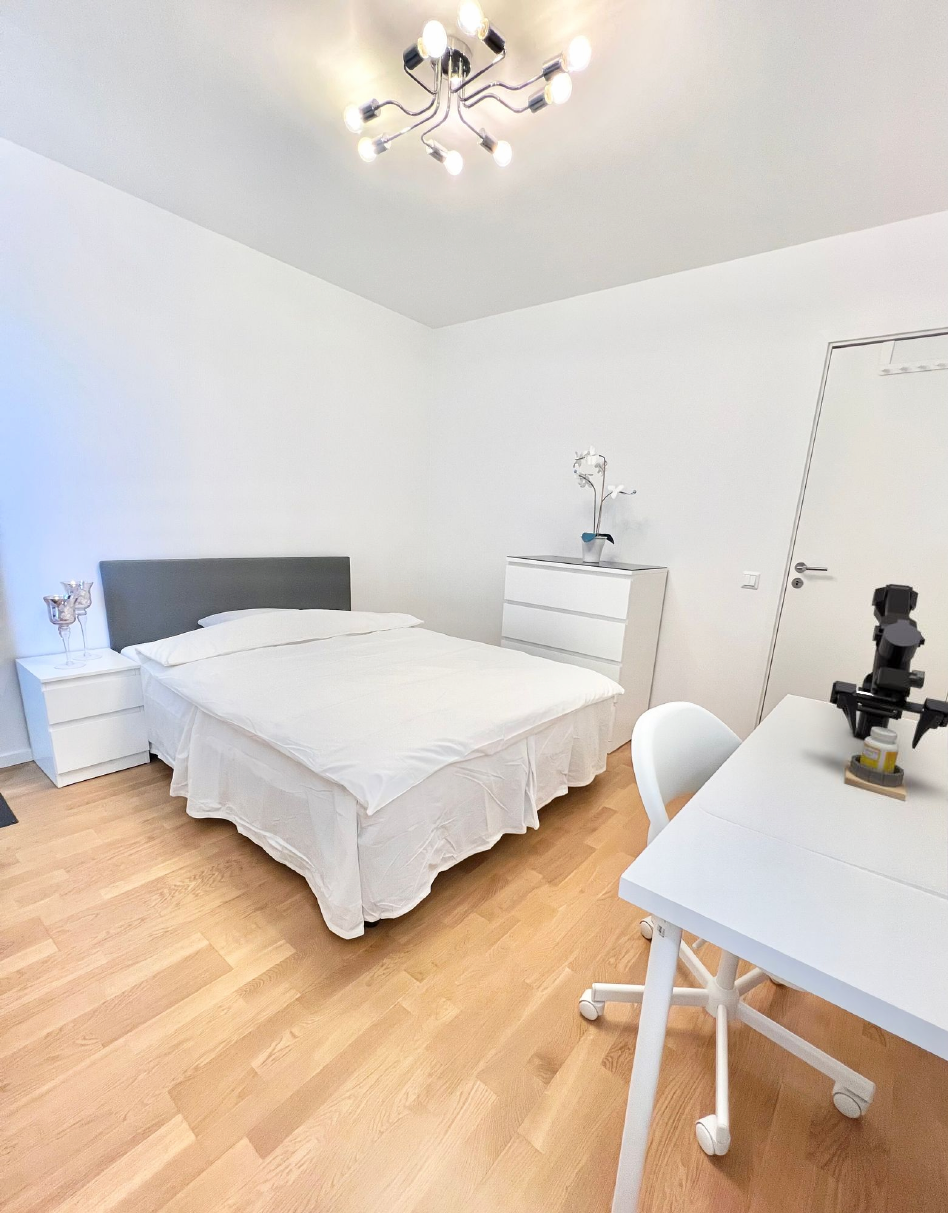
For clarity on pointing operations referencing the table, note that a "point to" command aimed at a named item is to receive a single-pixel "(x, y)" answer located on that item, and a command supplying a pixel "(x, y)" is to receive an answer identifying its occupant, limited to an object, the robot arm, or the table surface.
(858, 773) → the ring holder
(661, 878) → the table surface
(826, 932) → the table surface
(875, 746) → the supplement bottle
